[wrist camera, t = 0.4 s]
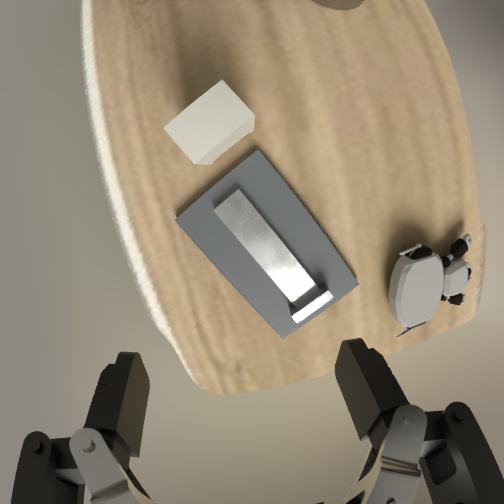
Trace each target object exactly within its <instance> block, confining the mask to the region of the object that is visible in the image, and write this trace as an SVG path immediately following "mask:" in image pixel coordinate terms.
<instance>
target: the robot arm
mask: <svg viewBox="0 0 504 504" xmlns="http://www.w3.org/2000/svg"><path fill="white" fill-rule="evenodd" d="M313 1H315V2H316V3H318V4H321V5H323V6H326V7H329V8H333V9H340V10H348V9H354V8H356V7H358V6H359V5H360V4H362V2H363V1H364V0H313ZM335 375H336V379H337V382H338V384H339V387H340V389H341V392H342V394H343V397H344V399H345V402H346V405H347V407H348V410H349V412H350V415H351V417H352V420H353V422H354V425H355V428H356V430H357V433H358V436H359V439H360V441H363V440H366V439H370V441H371V445H370V448H369V450H368V453H367V455H366V458H365V460H364V463H363V465H362V467H361V470H360V472H359V474H358V477H357V479H356V481H355V483H354V485H353V486H352V488H351V489H350V490H349V492H348V494H347V495H346V497H345V499H344V500H343V502H342V504H412V503H413V501H414V498H415V494H416V491H417V488H418V485H419V482H420V478H421V471H420V470H419V469H418V468H417V466H418V462H419V464H420V467H421V470H422V473H423V475H424V478H425V481H426V484H427V487H428V490H429V493H430V496H431V499H432V502H433V504H504V479H503V476H502V474H501V471H500V469H499V467H498V464H497V462H496V460H495V458H494V455H493V453H492V451H491V449H490V447H489V445H488V443H487V441H486V439H485V436H484V435H483V432H482V430H481V429H480V427H479V425H478V423H477V421H476V419H475V417H474V415H473V413H472V411H471V410H470V408H469V407H468V406H467V405H466V404H464V403H462V402H453V403H451V404H449V405H448V406H447V407H446V409H445V410H444V411H430V412H424V411H423V410H422V409H421V408H420V407H418V406H415V405H411V404H410V403H409V402H408V400H407V398H406V396H405V395H404V393H403V391H402V389H401V387H400V386H399V384H398V382H397V380H396V378H395V377H394V375H392V371H391V370H390V368H389V367H388V364H387V363H386V361H385V359H384V357H383V356H382V355H381V354H380V353H379V352H377V351H376V350H375V349H374V348H371V349H368V348H367V346H366V344H365V342H364V341H363V339H362V338H356V339H350V340H344V341H343V342H342V343H341V347H340V350H339V354H338V357H337V361H336V364H335ZM149 389H150V383H149V377H148V374H147V372H146V369H145V367H144V364H143V362H142V359H141V356H140V354H139V353H137V352H120V353H119V354H118V357H117V360H116V363H115V364H108V366H107V367H106V368H105V369H104V370H103V371H102V372H101V375H100V378H99V381H98V386H97V387H96V390H95V394H94V396H93V399H92V402H91V406H90V409H89V412H88V415H87V419H86V423H85V425H84V427H83V429H80V430H78V431H76V432H75V433H74V434H73V435H72V437H69V438H57V439H50V438H49V437H48V436H47V435H46V434H44V433H42V432H39V431H35V432H32V433H30V434H28V435H27V437H26V438H25V440H24V443H23V446H22V450H21V454H20V458H19V462H18V466H17V471H16V476H15V481H14V487H13V492H12V499H11V504H83V502H84V491H85V484H87V486H88V488H89V490H90V492H91V494H92V498H91V499H90V501H91V504H157V503H156V502H155V500H154V499H153V498H152V497H151V495H150V494H149V493H148V491H147V490H146V489H145V487H144V486H143V485H142V483H141V482H140V480H139V479H138V477H137V476H136V474H135V473H134V471H133V470H132V468H131V467H130V466H129V461H130V456H132V457H139V454H140V446H141V439H142V431H143V425H144V419H145V412H146V407H147V401H148V395H149ZM317 504H324V502H322V503H317Z"/></svg>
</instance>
